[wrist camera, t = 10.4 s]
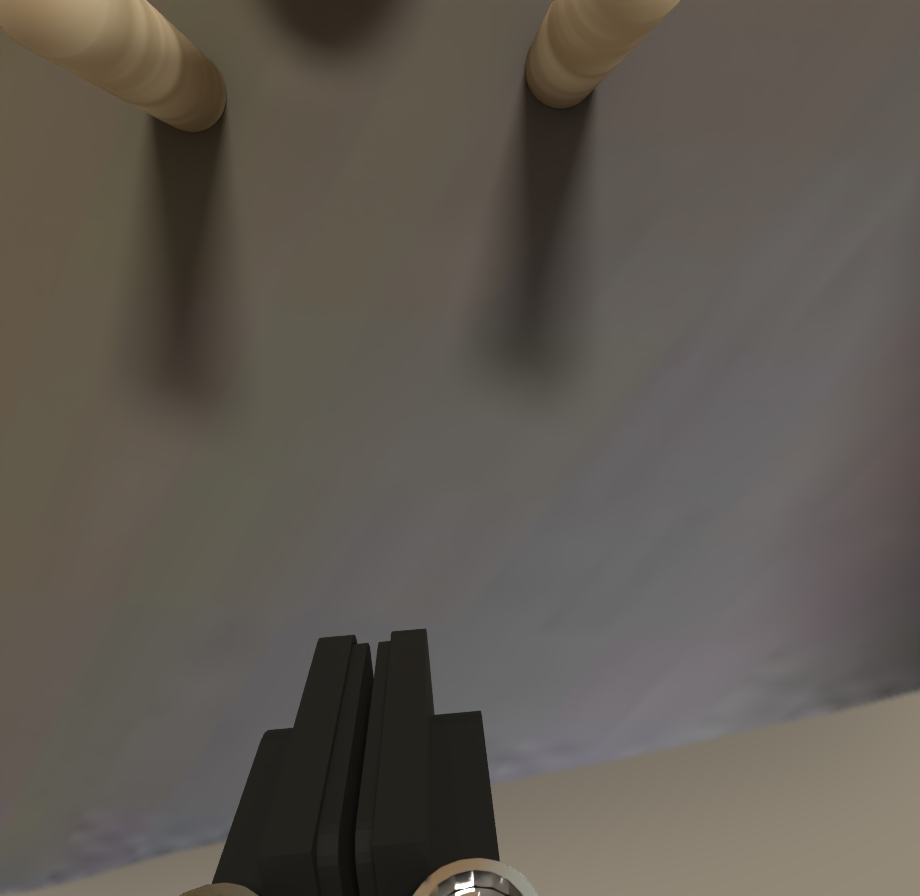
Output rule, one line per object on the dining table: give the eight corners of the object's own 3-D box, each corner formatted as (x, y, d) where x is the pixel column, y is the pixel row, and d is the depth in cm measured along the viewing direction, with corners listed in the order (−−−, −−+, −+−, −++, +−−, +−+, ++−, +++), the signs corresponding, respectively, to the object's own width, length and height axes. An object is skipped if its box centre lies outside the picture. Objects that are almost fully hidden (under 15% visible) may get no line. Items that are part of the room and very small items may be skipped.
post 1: (219, 47, 23) (93, -85, 14) (231, 129, 23) (118, 53, 15) (143, 51, 23) (-32, -78, 14) (158, 134, 23) (0, 60, 15)
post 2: (597, 24, 23) (700, -118, 14) (598, 106, 24) (696, 18, 15) (523, 28, 23) (582, -112, 14) (526, 110, 24) (584, 24, 15)
